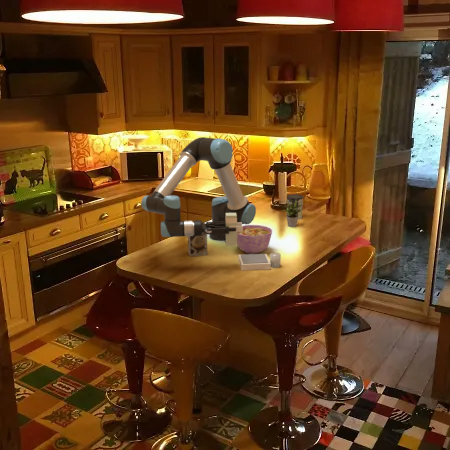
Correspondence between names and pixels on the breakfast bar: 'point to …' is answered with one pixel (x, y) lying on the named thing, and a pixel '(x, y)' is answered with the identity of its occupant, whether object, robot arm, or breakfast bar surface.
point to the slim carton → (232, 236)
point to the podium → (254, 262)
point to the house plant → (292, 214)
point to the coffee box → (197, 244)
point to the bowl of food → (254, 238)
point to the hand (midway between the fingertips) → (242, 227)
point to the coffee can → (300, 200)
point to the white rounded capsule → (275, 260)
